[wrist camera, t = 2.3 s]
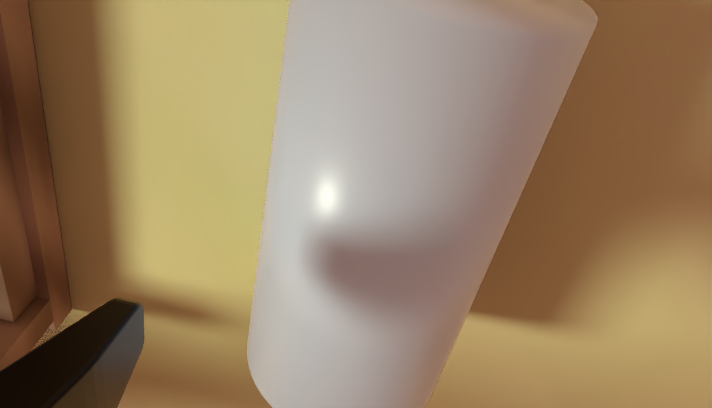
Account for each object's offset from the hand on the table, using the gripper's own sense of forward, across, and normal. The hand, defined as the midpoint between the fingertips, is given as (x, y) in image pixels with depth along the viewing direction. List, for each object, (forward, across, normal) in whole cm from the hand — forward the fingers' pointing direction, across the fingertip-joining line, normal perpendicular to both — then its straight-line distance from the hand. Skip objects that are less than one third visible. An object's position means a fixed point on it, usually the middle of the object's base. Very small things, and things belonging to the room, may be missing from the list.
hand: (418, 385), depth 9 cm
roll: (+7, 0, 0) cm, 7 cm away
